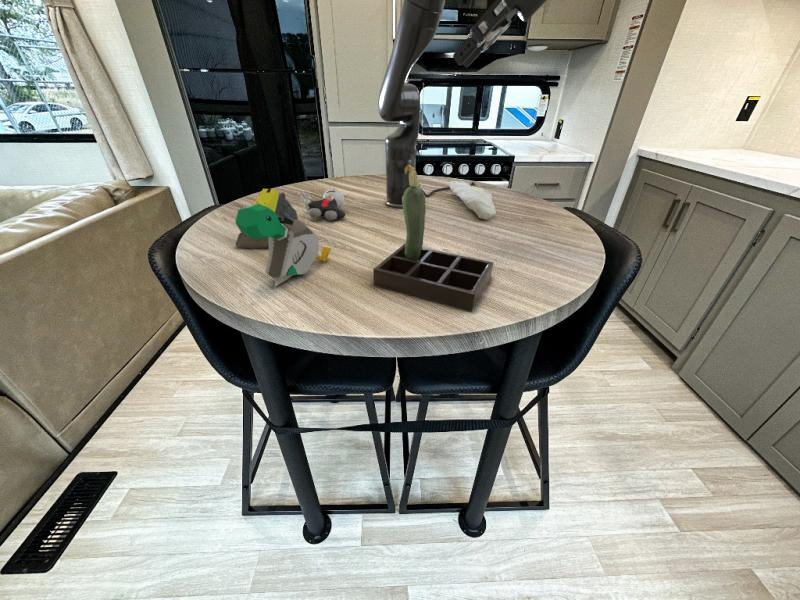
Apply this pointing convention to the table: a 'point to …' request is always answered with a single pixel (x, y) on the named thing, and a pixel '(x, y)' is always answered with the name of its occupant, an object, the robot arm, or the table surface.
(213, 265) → the table surface
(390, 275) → the brown compartment tray
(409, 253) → the vegetable
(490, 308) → the table surface
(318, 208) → the toy
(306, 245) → the toy
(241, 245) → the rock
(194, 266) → the table surface
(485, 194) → the rock
